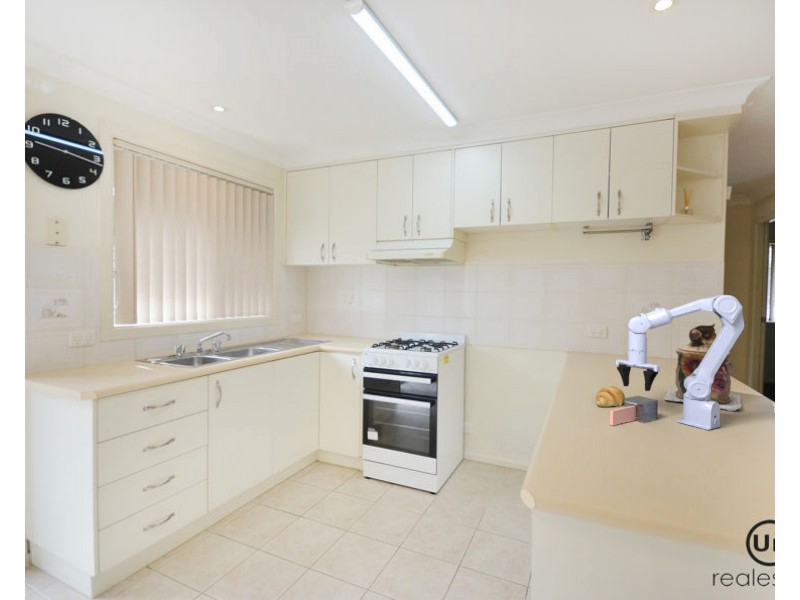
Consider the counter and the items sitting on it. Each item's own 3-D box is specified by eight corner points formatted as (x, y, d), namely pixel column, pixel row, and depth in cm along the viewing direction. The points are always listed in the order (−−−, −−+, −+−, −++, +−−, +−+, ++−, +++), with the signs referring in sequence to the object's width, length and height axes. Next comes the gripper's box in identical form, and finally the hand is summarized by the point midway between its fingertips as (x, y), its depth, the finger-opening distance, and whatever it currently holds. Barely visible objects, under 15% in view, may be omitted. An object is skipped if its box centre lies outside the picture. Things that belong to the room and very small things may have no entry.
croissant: (606, 419, 151) (617, 402, 148) (582, 401, 157) (592, 385, 154) (627, 407, 165) (637, 392, 162) (604, 391, 171) (614, 376, 168)
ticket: (636, 419, 138) (636, 405, 138) (612, 425, 132) (613, 411, 132) (633, 419, 139) (633, 405, 139) (609, 424, 133) (610, 410, 133)
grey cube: (657, 419, 139) (657, 400, 139) (643, 423, 135) (644, 403, 135) (637, 414, 145) (638, 395, 145) (624, 417, 141) (624, 398, 141)
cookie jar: (669, 390, 182) (671, 319, 181) (740, 400, 166) (742, 323, 166) (662, 401, 163) (664, 322, 162) (742, 413, 147) (744, 326, 147)
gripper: (611, 348, 147) (610, 385, 148) (652, 353, 135) (651, 394, 135) (622, 347, 151) (621, 383, 151) (663, 352, 138) (662, 391, 138)
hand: (636, 388), depth 143 cm, fingers open, 7 cm apart
